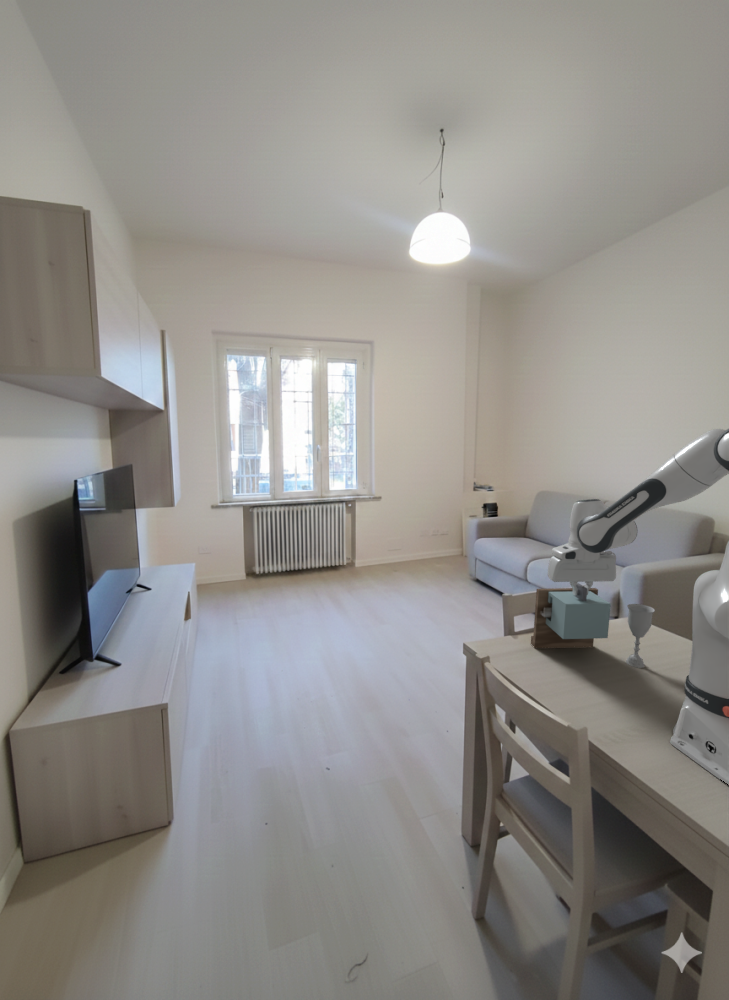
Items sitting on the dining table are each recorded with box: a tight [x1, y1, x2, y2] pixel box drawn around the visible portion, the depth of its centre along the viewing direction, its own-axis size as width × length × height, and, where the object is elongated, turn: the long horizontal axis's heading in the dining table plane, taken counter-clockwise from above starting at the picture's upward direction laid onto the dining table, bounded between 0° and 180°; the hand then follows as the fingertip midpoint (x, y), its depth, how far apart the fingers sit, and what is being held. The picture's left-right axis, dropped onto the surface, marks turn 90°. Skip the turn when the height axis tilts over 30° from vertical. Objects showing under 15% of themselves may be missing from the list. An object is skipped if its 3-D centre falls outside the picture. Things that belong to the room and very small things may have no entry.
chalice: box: [625, 603, 656, 669], centre depth 136 cm, size 7×7×18 cm
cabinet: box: [546, 582, 612, 639], centre depth 139 cm, size 11×14×15 cm
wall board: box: [530, 587, 599, 649], centre depth 146 cm, size 6×20×20 cm, turn 94°
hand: (580, 594), depth 138 cm, fingers closed on cabinet
